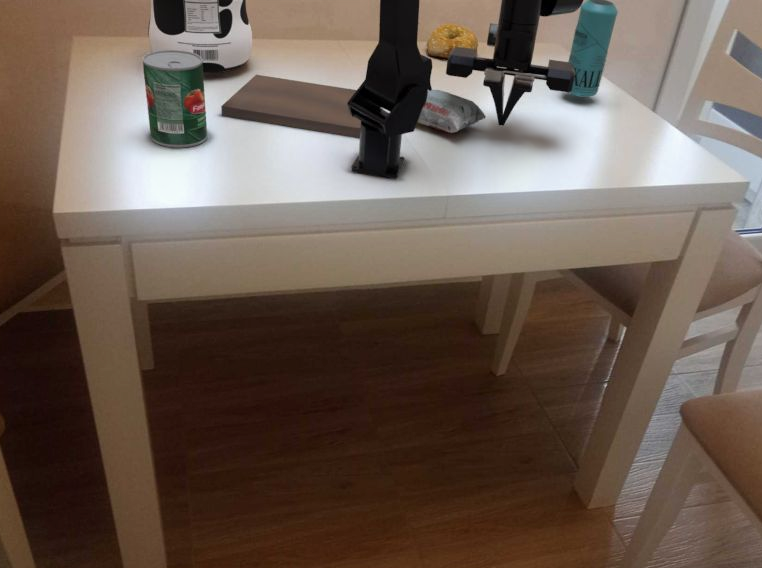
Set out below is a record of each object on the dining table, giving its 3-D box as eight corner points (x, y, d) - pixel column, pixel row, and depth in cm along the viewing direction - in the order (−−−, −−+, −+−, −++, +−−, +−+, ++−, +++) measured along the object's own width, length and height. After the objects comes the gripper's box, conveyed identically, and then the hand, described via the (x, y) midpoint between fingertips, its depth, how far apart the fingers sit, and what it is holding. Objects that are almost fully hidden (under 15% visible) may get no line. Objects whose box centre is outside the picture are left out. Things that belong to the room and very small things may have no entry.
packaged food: (456, 144, 117) (461, 112, 114) (393, 122, 122) (396, 91, 119) (484, 130, 123) (489, 99, 120) (423, 109, 128) (426, 80, 125)
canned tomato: (146, 128, 112) (137, 50, 105) (201, 124, 115) (196, 48, 108) (155, 150, 106) (147, 69, 100) (213, 145, 109) (208, 67, 102)
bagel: (413, 50, 154) (416, 25, 151) (451, 43, 160) (454, 19, 157) (449, 64, 148) (452, 39, 145) (487, 56, 155) (491, 32, 152)
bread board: (361, 138, 116) (362, 128, 115) (221, 115, 118) (221, 106, 117) (383, 103, 129) (383, 94, 128) (256, 83, 131) (256, 74, 130)
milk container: (205, 43, 145) (199, -63, 134) (273, 67, 138) (272, -44, 127) (130, 61, 134) (116, -54, 123) (199, 88, 126) (191, -31, 115)
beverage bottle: (573, 90, 143) (600, -27, 131) (603, 101, 139) (633, -18, 127) (552, 96, 139) (578, -24, 127) (582, 108, 135) (612, -15, 123)
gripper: (583, 14, 116) (561, 115, 126) (461, -2, 118) (448, 98, 128) (584, 34, 108) (560, 140, 117) (452, 16, 109) (439, 123, 119)
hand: (501, 124), depth 120 cm, fingers closed
